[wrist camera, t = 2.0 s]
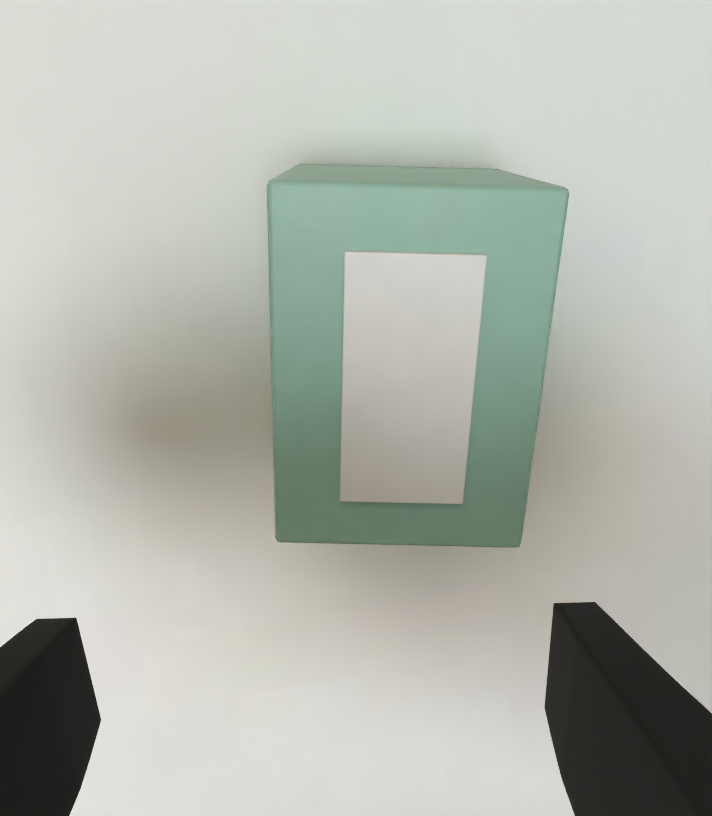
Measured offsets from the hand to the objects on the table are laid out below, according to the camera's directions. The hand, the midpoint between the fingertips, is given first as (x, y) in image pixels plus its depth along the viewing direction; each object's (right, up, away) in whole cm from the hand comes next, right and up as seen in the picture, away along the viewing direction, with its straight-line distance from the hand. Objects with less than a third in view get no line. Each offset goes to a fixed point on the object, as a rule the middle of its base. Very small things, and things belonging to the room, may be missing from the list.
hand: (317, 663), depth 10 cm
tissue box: (+1, +7, +8) cm, 10 cm away
